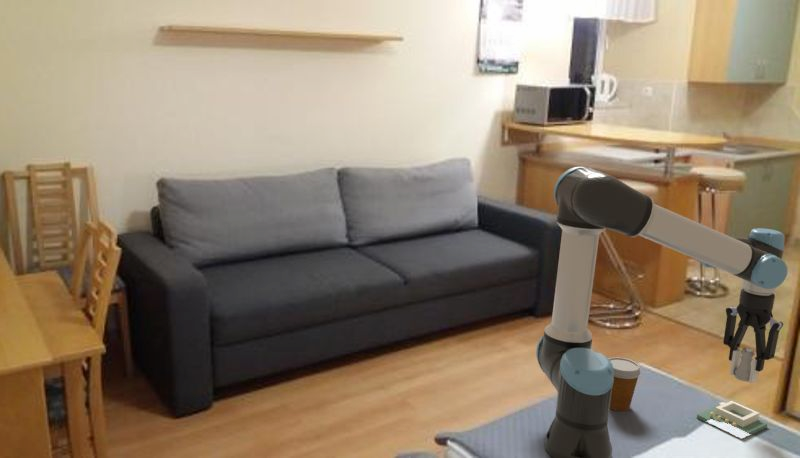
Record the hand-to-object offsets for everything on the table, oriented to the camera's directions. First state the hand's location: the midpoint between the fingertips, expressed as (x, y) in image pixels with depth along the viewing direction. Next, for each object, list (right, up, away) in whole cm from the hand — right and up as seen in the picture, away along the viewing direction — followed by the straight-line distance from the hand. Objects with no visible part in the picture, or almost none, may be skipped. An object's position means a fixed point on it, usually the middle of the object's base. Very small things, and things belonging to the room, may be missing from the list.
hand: (743, 377), depth 166 cm
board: (-2, -12, +2) cm, 12 cm away
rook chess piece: (0, -1, 0) cm, 0 cm away
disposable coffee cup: (-30, -10, +8) cm, 32 cm away
